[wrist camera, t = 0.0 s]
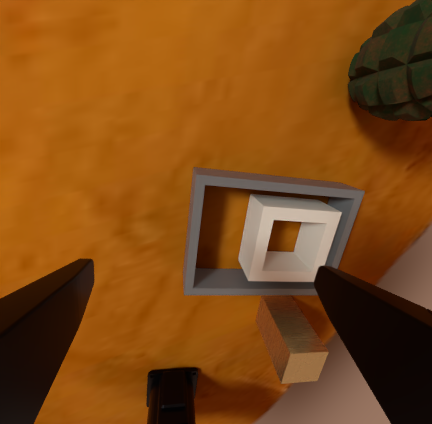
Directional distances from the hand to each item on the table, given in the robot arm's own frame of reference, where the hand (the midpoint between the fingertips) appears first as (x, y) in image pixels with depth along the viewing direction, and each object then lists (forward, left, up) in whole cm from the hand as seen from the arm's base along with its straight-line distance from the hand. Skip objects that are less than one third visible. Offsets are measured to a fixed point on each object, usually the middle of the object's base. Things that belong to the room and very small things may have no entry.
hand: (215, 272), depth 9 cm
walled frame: (-4, -8, -15) cm, 17 cm away
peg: (-15, -12, -15) cm, 24 cm away
